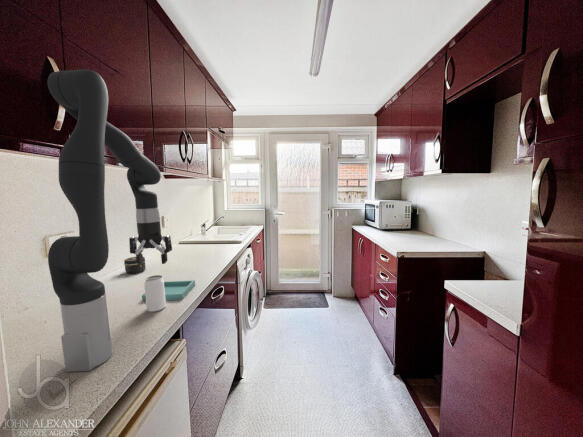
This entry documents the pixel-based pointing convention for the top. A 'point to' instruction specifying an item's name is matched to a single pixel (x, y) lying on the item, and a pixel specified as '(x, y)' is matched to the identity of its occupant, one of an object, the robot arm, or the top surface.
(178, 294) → the tray
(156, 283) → the can
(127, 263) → the jar
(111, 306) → the top surface
